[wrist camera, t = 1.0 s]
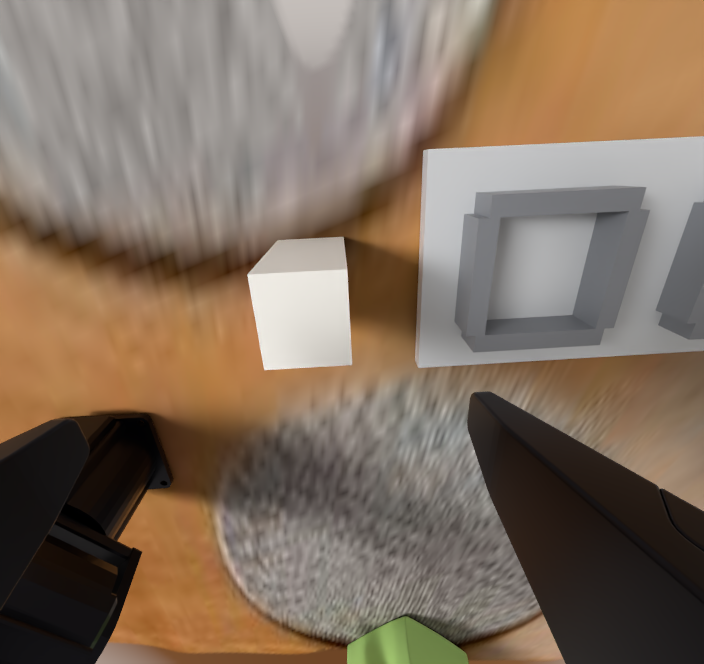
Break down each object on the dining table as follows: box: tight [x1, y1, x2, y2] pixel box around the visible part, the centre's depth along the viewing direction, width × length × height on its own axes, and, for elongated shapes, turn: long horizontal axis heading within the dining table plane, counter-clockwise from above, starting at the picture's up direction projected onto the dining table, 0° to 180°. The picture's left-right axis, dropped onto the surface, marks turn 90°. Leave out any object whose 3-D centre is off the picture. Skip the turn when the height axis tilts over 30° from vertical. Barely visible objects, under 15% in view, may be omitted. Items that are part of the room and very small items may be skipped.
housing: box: [415, 136, 704, 368], centre depth 16 cm, size 12×24×8 cm, turn 93°
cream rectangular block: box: [248, 237, 352, 370], centre depth 16 cm, size 4×4×7 cm
